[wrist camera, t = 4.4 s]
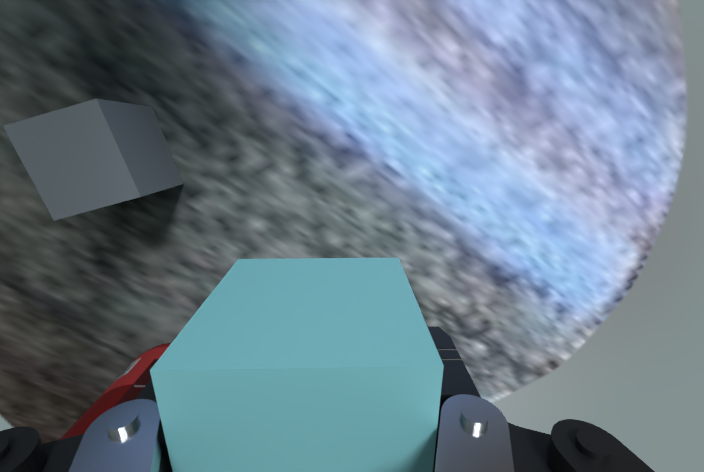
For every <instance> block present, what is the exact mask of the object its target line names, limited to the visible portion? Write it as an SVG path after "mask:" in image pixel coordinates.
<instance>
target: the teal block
mask: <svg viewBox="0 0 704 472" xmlns="http://www.w3.org/2000/svg"><path fill="white" fill-rule="evenodd" d="M443 368H444V365H443V363H442V360H441V358H440V356H439V353H438V351H437V349H436V346H435V344H434V341H433V339H432V337H431V334H430V332H429V330H428V327H427V325H426V322H425V320H424V318H423V315H422V313H421V311H420V308H419V306H418V303H417V301H416V299H415V296H414V294H413V291H412V289H411V287H410V284H409V282H408V280H407V277H406V275H405V272H404V270H403V268H402V265H401V263H400V261H399V258H310V259H238V260H237V261H236V263H235V264H234V265H233V266H232V268H231V269H230V270H229V271H228V273H227V274H226V275H225V276H224V278H223V279H222V280H221V281H220V283H219V284H218V285H217V286H216V288H215V289H214V290H213V292H212V293H211V294H210V295H209V297H208V298H207V299H206V300H205V302H204V303H203V304H202V305H201V307H200V308H199V309H198V310H197V312H196V313H195V314H194V315H193V317H192V318H191V319H190V320H189V322H188V323H187V324H186V325H185V327H184V328H183V329H182V331H181V332H180V333H179V334H178V336H177V337H176V338H175V339H174V341H173V342H172V343H171V344H170V346H169V347H168V348H167V349H166V351H165V352H164V353H163V354H162V356H161V357H160V358H159V359H158V361H157V362H156V363H155V364H154V366H153V367H152V368H151V370H150V374H151V378H152V383H153V387H154V391H155V396H156V400H157V405H158V409H159V413H160V418H161V422H162V427H163V431H164V436H165V440H166V444H167V449H168V453H169V458H170V462H171V466H172V471H173V472H433V464H434V454H435V445H436V435H437V426H438V416H439V406H440V397H441V387H442V378H443Z"/></svg>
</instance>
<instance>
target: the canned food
mask: <svg viewBox="0 0 704 472" xmlns="http://www.w3.org/2000/svg"><path fill="white" fill-rule="evenodd" d="M170 344H171V343H168V344H162V345H159V346H156V347H154V348H152V349H150V350H148V351H146V352H145V353H143V354H141V355H140V356H138V357H137V358H136V359H135V360H134V361H133V362H132V363H131V364H130V365H129V366H128V367H127V368H126V370H125V371H124V372H123V373H122V374H121V375H120V376H119V377H118V378H117V379H116V380H115V381H114V382H113V383H112V384H111V385H110V387H109V388H108V389H107V390H106V391H105V392H104V393H103V394H102V395H101V396H100V397H99V398H98V399H97V400H96V401H95V402H94V404H93V405H92V406H91V407H90V408H89V409H88V410H87V411H86V412H85V413H84V414H83V415H82V416H81V417H80V418H79V419H78V421H77V422H76V423H75V424H74V425H73V426H72V427H71V428H70V429H69V430H68V431H67V432H66V433H65V434H64V435H63V436H62V438H61V439H65V438H69V437H73V436H76V435H80V434H84V433H85V432H86V430H87V429H88V427H89V426H90V425H91V424H92V423H93V421H94V420H95V419H97V418H98V417H99V416H100V415H102V414H103V413H104V412H106V411H107V410H109V409H111V408H113V407H115V406H117V405H119V404H122V403H124V402H127V401H131V400H135V399H136V397H137V396H138V395H139V393H140V392H141V391H142V390H143V388H144V387H145V386H146V384H147V383H148V382H149V380H150V379H151V374H150V370H151V368H152V367H153V366H154V364H155V363H156V362H157V361H158V359H159V358H160V357H161V356H162V354H163V353H164V352H165V351H166V349H167V348H168V347H169V346H170ZM61 439H60V440H61Z"/></svg>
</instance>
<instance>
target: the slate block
mask: <svg viewBox="0 0 704 472" xmlns="http://www.w3.org/2000/svg"><path fill="white" fill-rule="evenodd" d="M3 128H4V130H5V131H6V133H7V135H8V137H9V139H10V141H11V142H12V144H13V146H14V148H15V150H16V152H17V154H18V155H19V157H20V159H21V161H22V163H23V165H24V166H25V168H26V170H27V172H28V174H29V176H30V177H31V179H32V181H33V183H34V185H35V187H36V189H37V190H38V192H39V194H40V196H41V198H42V200H43V201H44V203H45V205H46V207H47V209H48V211H49V213H50V214H51V216H52V218H53V220H54V221H55V220H58V219H62V218H66V217H69V216H73V215H77V214H80V213H84V212H88V211H91V210H95V209H99V208H102V207H106V206H109V205H113V204H117V203H120V202H124V201H128V200H131V199H135V198H139V197H142V196H146V195H149V194H152V193H155V192H159V191H162V190H165V189H169V188H172V187H175V186H178V185H182V184H183V181H182V179H181V176H180V174H179V171H178V169H177V167H176V164H175V162H174V159H173V157H172V154H171V152H170V150H169V147H168V145H167V142H166V140H165V137H164V135H163V132H162V130H161V128H160V125H159V123H158V120H157V118H156V115H155V113H154V111H153V108H152V107H150V106H143V105H137V104H130V103H123V102H116V101H110V100H103V99H93V100H89V101H86V102H83V103H79V104H76V105H72V106H69V107H66V108H62V109H59V110H55V111H52V112H48V113H45V114H42V115H38V116H35V117H31V118H28V119H24V120H21V121H18V122H14V123H11V124H7V125H4V126H3Z"/></svg>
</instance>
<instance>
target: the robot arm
mask: <svg viewBox="0 0 704 472" xmlns="http://www.w3.org/2000/svg"><path fill="white" fill-rule="evenodd" d="M421 313H422V312H421ZM422 315H423V314H422ZM423 318H424V317H423ZM424 320H425V319H424ZM426 325H427V324H426ZM427 327H428V326H427ZM428 330H429V332H430V334H431V337H432V339H433V341H434V344H435V346H436V349H437V351H438V353H439V356H440V358H441V360H442V363H443V365H444V368H443V378H442V387H441V397H440V406H439V416H438V426H437V435H436V445H435V454H434V464H433V472H654V471H653V470H652V469H651V468H650V467H649V466H647V465H646V464H645V463H644V462H643V461H642V460H641V459H639V458H638V457H637V456H636V455H635V454H634V453H632V452H631V451H630V450H629V449H628V448H627V447H626V446H624V445H623V444H622V443H621V442H620V441H619V440H617V439H616V438H615V437H614V436H612V435H611V434H609V433H608V432H606V431H605V430H603V429H601V428H599V427H597V426H595V425H593V424H590V423H587V422H584V421H580V420H573V419H567V420H562V421H559V422H557V423H556V424H555V425H554V426H553V429H552V431H551V435H549V434H545V433H541V432H537V431H533V430H530V429H525V428H522V427H519V426H515V425H513V424H511V423H508V422H507V420H506V418H505V417H504V415H503V414H502V412H501V411H500V410H499V409H498V408H497V407H496V406H494V405H493V404H492V403H490V402H488V401H487V400H485V399H482V398H481V397H480V395H479V393H478V391H477V389H476V387H475V385H474V383H473V381H472V379H471V377H470V375H469V373H468V371H467V369H466V367H465V365H464V363H463V361H461V357H460V355H459V353H458V351H457V350H456V347H455V345H454V343H453V341H452V339H451V337H450V336H449V335H448V334H446V333H445V332H444V331H443V330H442V329H441V328H439V327H428ZM0 472H173V471H172V466H171V462H170V458H169V453H168V449H167V444H166V440H165V436H164V431H163V427H162V422H161V418H160V413H159V409H158V405H157V400H156V396H155V391H154V387H153V383H152V378H151V379H150V380H149V382H148V383H147V384H146V386H145V387H144V388H143V390H142V391H141V392H140V393H139V395H138V396H137V397H136V399H135V400H131V401H127V402H124V403H122V404H119V405H117V406H115V407H113V408H111V409H109V410H107V411H106V412H104V413H103V414H102V415H100V416H99V417H98V418H97V419H95V420H94V421H93V423H92V424H91V425H90V426H89V427H88V429H87V430H86V432H85V433H84V434H80V435H76V436H73V437H69V438H65V439H61V440H57V441H53V442H49V443H46V444H42V442H41V439H40V436H39V434H38V432H37V431H36V430H35V429H33V428H31V427H16V428H11V429H7V430H3V431H0Z"/></svg>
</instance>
